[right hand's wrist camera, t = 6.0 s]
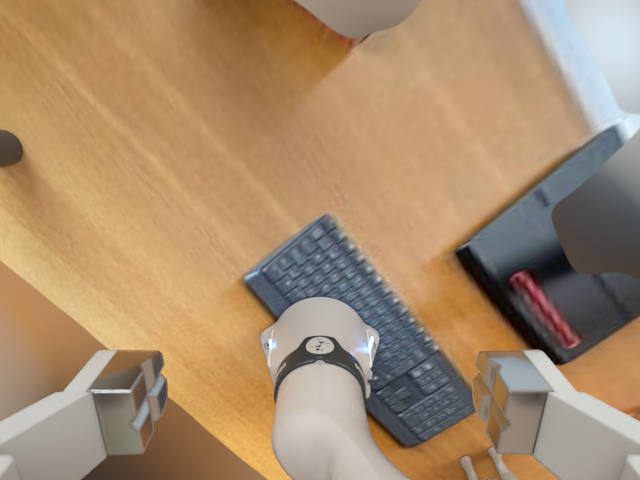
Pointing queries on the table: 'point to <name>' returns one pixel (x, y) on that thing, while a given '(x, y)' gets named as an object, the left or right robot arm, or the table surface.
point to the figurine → (505, 474)
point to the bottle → (9, 149)
